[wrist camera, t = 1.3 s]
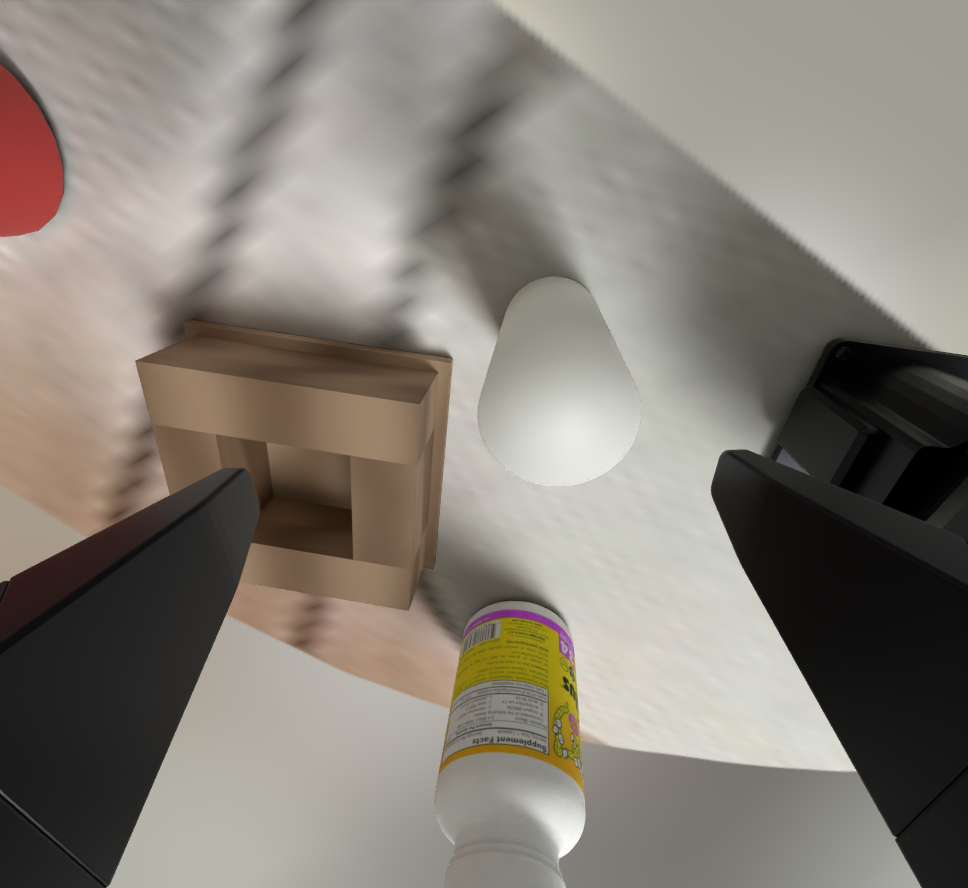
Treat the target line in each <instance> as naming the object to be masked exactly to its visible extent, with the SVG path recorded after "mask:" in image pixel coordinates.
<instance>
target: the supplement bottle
mask: <svg viewBox="0 0 968 888" xmlns="http://www.w3.org/2000/svg"><path fill="white" fill-rule="evenodd" d="M580 743H581V742H580V730H579V712H578V698H577V684H576V670H575V657H574V647H573V640H572V636H571V633H570V631H569V629H568V627H567V626H566V624H565V623H564V622H563V621H562V620H561V619H560V618H559V617H558V616H557V615H556V614H555V613H553V612H552V611H550V610H548V609H546V608H544V607H542V606H540V605H537V604H534V603H530V602H524V601H505V602H498V603H495V604H491V605H489V606H487V607H485V608H483V609H481V610H480V611H478V612H477V613H476V614H475V615H474V616H473V617H472V618H471V619H470V620H469V622H468V623H467V625H466V628H465V630H464V634H463V639H462V645H461V650H460V656H459V662H458V667H457V673H456V679H455V685H454V690H453V696H452V701H451V707H450V713H449V719H448V724H447V730H446V735H445V741H444V747H443V752H442V758H441V763H440V769H439V774H438V779H437V785H436V791H435V799H434V805H435V813H436V817H437V820H438V823H439V825H440V827H441V829H442V831H443V832H444V834H445V835H446V836H447V838H448V839H449V840H450V841H451V842H452V843H453V844H454V845H455V847H454V855H453V856H452V857H451V859H450V862H449V865H448V867H447V869H446V872H445V882H444V888H566V886H565V883H564V881H563V879H562V874H561V871H560V870H559V858H561V857H562V856H564V855H565V854H567V853H568V852H569V851H570V850H571V849H572V848H573V847H574V846H575V844H576V843H577V841H578V840H579V838H580V836H581V834H582V831H583V828H584V823H585V798H584V785H583V771H582V757H581V744H580Z"/></svg>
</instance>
